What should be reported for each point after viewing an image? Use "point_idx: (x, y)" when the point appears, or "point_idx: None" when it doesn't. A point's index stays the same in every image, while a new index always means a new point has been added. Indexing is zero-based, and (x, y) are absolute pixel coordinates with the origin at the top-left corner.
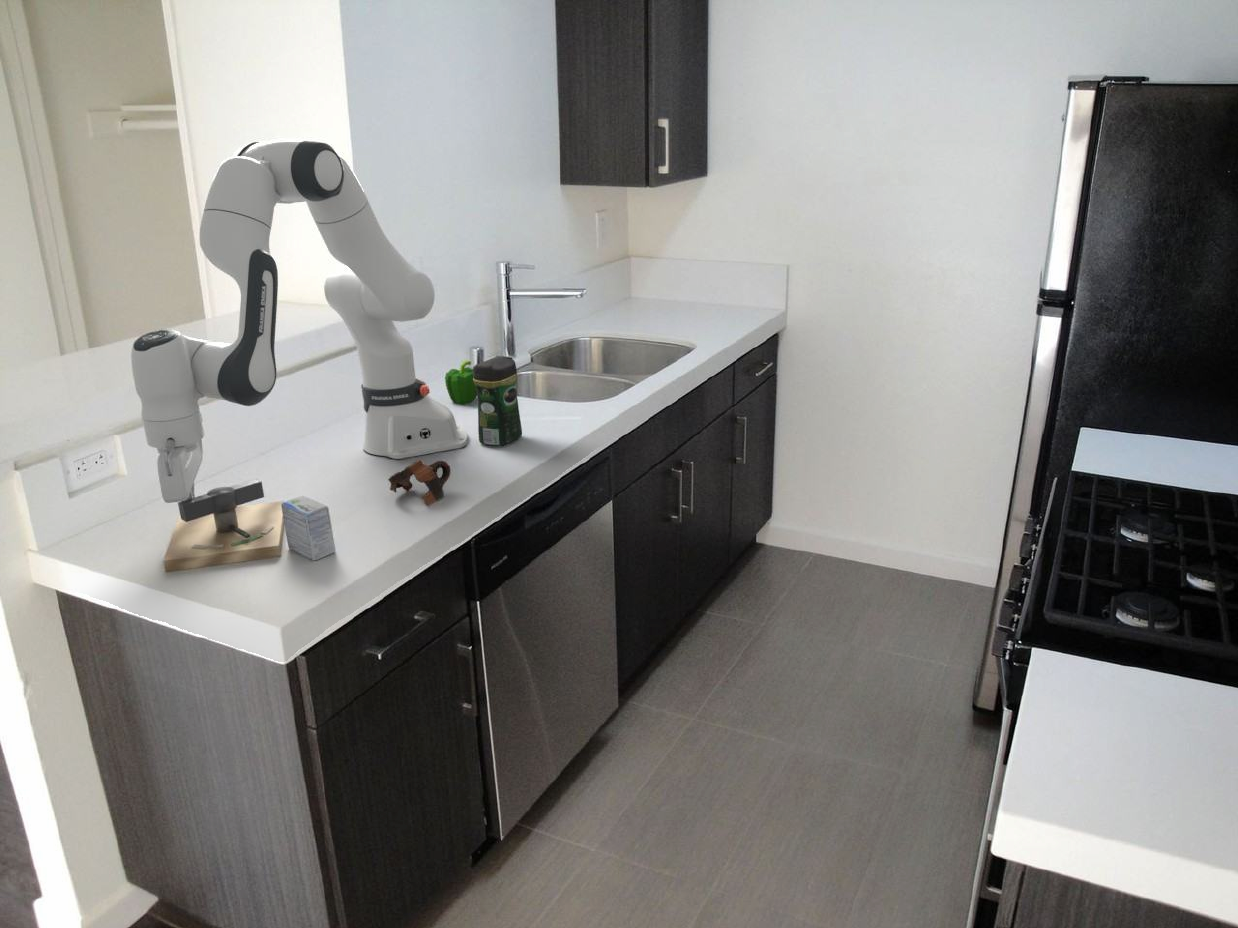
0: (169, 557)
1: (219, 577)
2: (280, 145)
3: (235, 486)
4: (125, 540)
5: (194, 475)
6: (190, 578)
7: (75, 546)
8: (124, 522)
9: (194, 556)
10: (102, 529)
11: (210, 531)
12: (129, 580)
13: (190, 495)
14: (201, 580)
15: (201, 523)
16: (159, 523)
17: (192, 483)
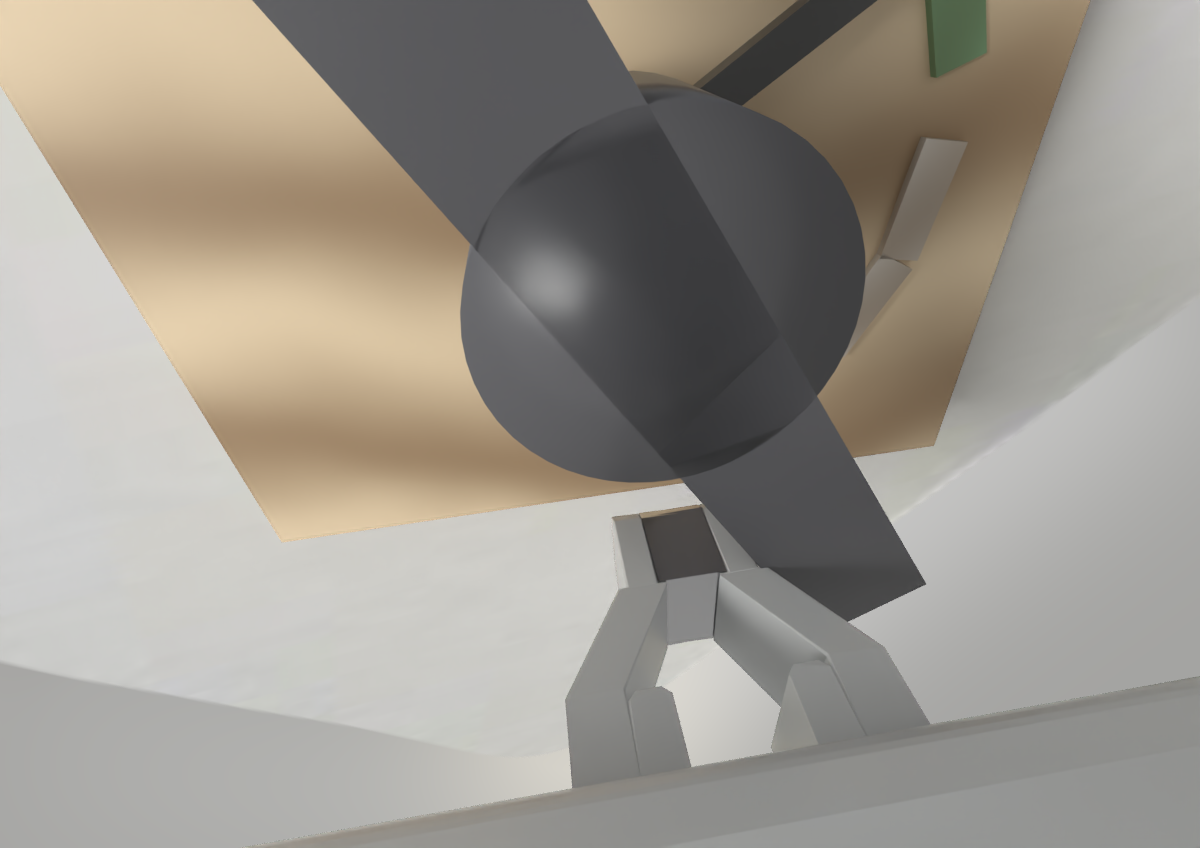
0: (908, 429)
1: (1165, 99)
2: None
3: (463, 114)
4: (490, 631)
5: (876, 841)
6: (1052, 275)
7: (518, 724)
8: (297, 686)
9: (979, 305)
10: (371, 716)
11: None
12: (899, 511)
13: (814, 606)
14: (1122, 208)
15: (451, 393)
16: (301, 583)
17: (1124, 748)
